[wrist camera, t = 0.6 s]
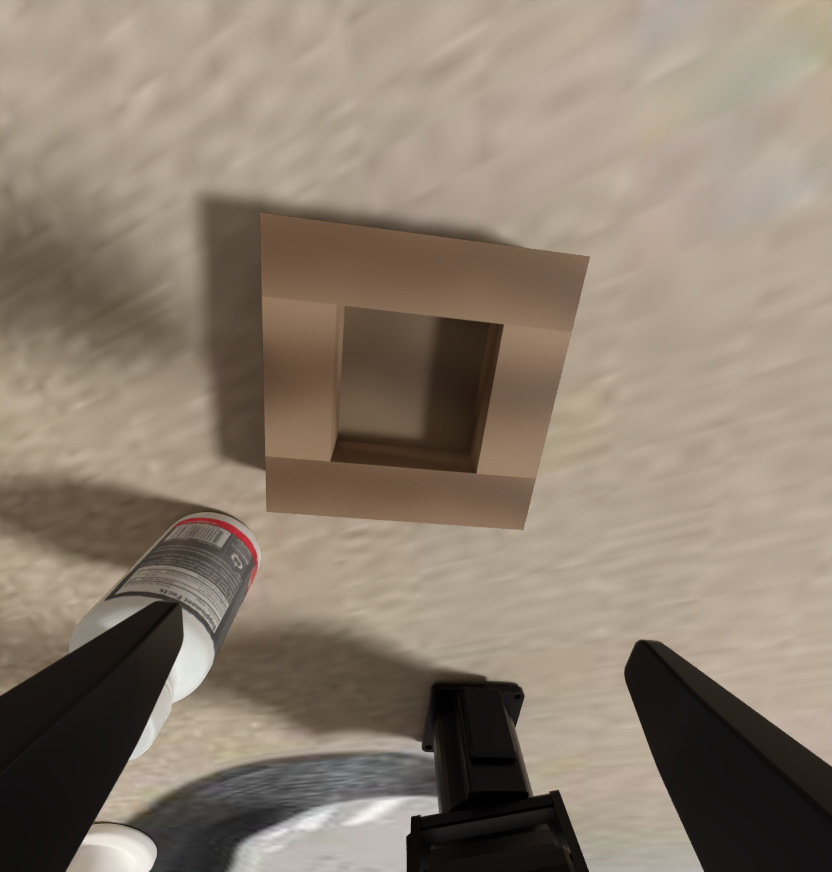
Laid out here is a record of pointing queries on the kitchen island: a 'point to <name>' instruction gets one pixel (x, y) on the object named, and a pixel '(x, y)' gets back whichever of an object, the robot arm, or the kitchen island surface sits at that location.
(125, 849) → the candle
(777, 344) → the kitchen island surface
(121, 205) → the kitchen island surface
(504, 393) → the socket block
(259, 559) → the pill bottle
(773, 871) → the robot arm
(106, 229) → the kitchen island surface
